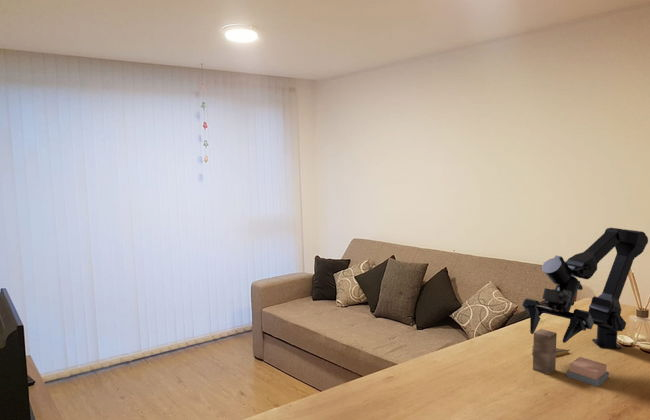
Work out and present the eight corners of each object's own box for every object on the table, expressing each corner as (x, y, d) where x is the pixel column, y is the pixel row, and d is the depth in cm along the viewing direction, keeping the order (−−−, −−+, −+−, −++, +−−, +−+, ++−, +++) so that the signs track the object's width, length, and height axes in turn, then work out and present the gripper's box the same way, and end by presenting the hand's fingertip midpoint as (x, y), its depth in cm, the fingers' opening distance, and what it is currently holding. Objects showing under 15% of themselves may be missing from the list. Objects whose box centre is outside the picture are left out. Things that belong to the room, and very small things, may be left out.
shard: (569, 354, 148) (570, 348, 148) (570, 363, 141) (570, 358, 141) (532, 348, 152) (532, 343, 152) (531, 357, 145) (531, 352, 145)
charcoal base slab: (566, 379, 132) (566, 371, 131) (577, 370, 137) (578, 363, 137) (597, 389, 126) (598, 381, 125) (608, 379, 131) (608, 372, 131)
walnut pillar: (532, 369, 136) (533, 332, 135) (539, 364, 139) (540, 328, 138) (548, 374, 133) (549, 336, 132) (555, 369, 136) (556, 332, 135)
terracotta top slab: (569, 371, 131) (569, 363, 131) (579, 363, 136) (580, 356, 136) (596, 380, 126) (596, 372, 126) (606, 372, 131) (606, 364, 130)
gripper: (526, 272, 145) (507, 315, 139) (591, 284, 131) (573, 331, 125) (536, 292, 151) (519, 334, 145) (600, 305, 137) (584, 352, 131)
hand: (547, 337), depth 136 cm, fingers open, 9 cm apart
